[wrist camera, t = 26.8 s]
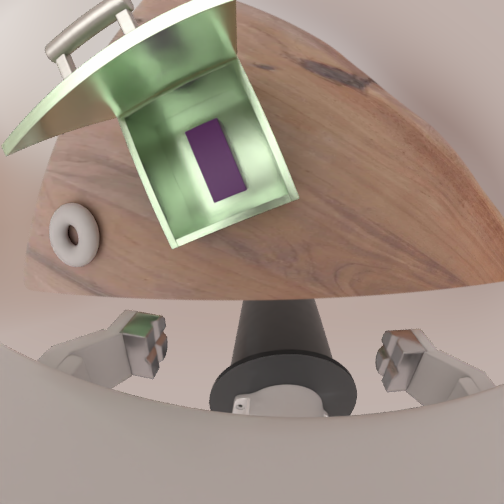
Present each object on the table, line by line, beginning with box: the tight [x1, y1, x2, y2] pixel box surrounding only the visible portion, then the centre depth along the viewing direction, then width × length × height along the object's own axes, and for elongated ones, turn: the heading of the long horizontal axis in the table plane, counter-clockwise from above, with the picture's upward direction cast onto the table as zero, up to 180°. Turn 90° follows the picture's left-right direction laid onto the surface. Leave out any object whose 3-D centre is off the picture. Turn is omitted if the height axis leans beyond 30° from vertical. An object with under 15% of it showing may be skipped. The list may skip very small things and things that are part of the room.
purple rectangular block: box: [185, 118, 248, 203], centre depth 31 cm, size 9×4×3 cm, turn 22°
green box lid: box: [1, 0, 237, 156], centre depth 14 cm, size 16×14×5 cm
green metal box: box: [117, 56, 299, 249], centre depth 29 cm, size 16×14×9 cm
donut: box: [49, 203, 99, 267], centre depth 35 cm, size 10×3×10 cm
